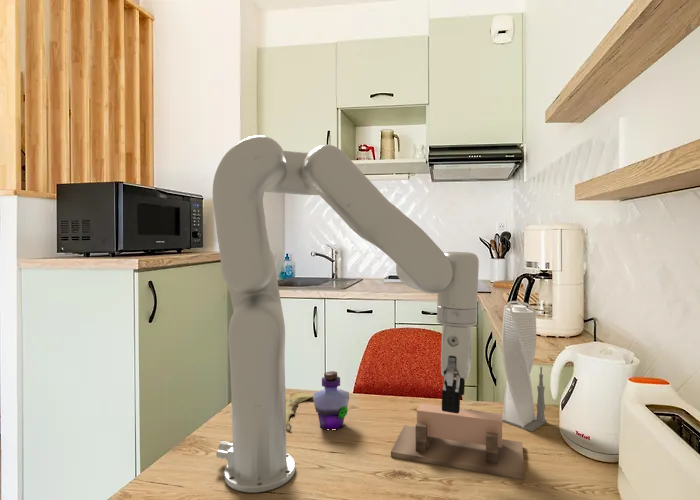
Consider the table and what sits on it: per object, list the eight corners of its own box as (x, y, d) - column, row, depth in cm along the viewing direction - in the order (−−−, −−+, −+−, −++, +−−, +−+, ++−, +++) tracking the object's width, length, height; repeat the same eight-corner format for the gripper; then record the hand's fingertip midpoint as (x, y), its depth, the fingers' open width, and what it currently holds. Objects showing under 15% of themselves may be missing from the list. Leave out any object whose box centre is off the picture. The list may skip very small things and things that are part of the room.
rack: (390, 456, 84) (390, 426, 84) (404, 429, 95) (404, 402, 95) (524, 479, 76) (524, 445, 76) (522, 446, 87) (522, 417, 87)
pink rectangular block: (416, 434, 87) (416, 410, 86) (420, 427, 90) (420, 403, 90) (502, 447, 81) (502, 421, 81) (502, 439, 84) (502, 413, 84)
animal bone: (292, 390, 117) (328, 387, 115) (294, 398, 117) (329, 396, 115) (260, 428, 96) (303, 426, 94) (262, 438, 96) (305, 436, 94)
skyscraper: (528, 434, 93) (529, 303, 91) (494, 421, 99) (494, 299, 98) (546, 422, 98) (547, 299, 97) (512, 411, 104) (513, 295, 103)
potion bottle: (342, 436, 92) (341, 381, 92) (305, 430, 95) (304, 376, 95) (356, 420, 101) (355, 368, 100) (321, 414, 104) (321, 365, 103)
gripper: (473, 326, 75) (469, 423, 76) (479, 310, 91) (476, 390, 92) (429, 321, 78) (426, 416, 78) (443, 307, 94) (440, 385, 94)
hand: (453, 402), depth 85 cm, fingers open, 9 cm apart
